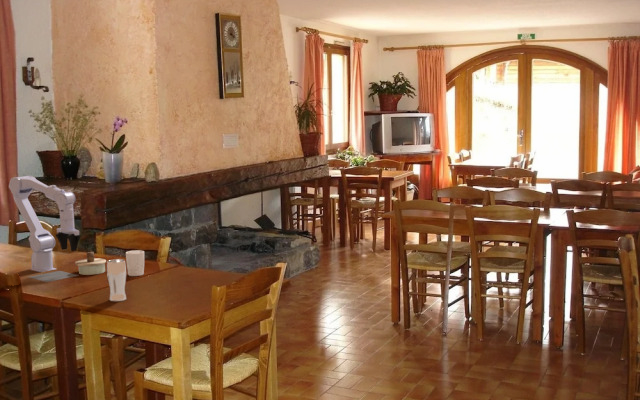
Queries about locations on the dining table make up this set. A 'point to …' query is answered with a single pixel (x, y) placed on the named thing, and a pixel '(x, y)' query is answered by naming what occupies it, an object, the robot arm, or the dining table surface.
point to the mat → (53, 276)
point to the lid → (90, 260)
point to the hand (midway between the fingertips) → (69, 250)
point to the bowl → (91, 269)
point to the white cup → (135, 262)
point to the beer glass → (116, 279)
